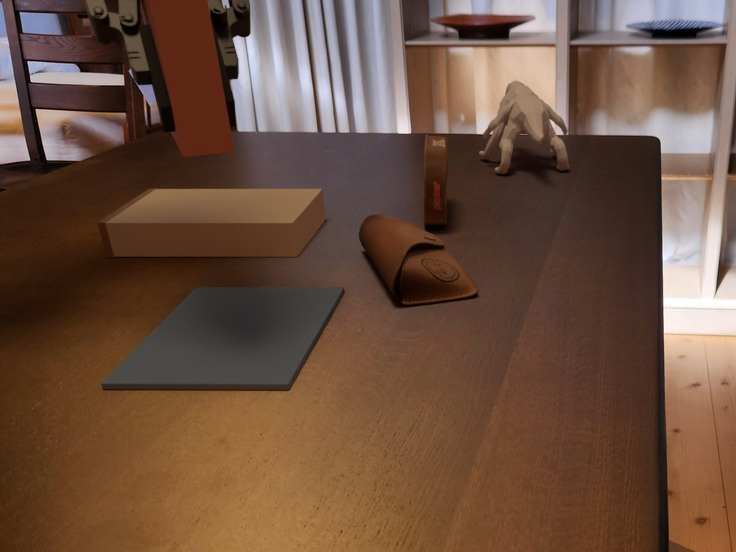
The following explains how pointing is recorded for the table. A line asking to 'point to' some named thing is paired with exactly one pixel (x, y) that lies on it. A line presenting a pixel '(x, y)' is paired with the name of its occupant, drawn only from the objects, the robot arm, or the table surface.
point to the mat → (230, 340)
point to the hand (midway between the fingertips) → (199, 116)
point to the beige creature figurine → (524, 125)
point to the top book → (190, 74)
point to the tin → (435, 180)
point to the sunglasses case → (414, 262)
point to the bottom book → (214, 223)
